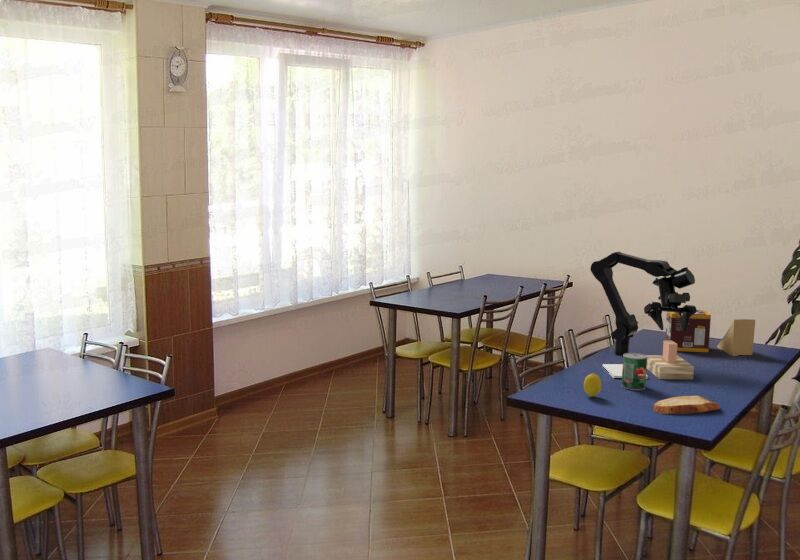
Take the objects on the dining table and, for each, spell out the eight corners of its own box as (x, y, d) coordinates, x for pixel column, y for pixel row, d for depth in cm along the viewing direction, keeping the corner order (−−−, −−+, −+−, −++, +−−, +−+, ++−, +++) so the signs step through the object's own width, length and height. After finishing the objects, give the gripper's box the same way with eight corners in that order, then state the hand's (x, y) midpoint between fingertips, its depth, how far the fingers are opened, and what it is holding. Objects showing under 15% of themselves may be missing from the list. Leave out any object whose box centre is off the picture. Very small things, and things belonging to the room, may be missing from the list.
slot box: (645, 367, 292) (645, 355, 291) (677, 367, 292) (678, 355, 291) (659, 379, 276) (659, 366, 275) (693, 379, 276) (693, 366, 275)
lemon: (581, 394, 257) (582, 370, 256) (598, 394, 257) (599, 371, 256) (585, 399, 252) (586, 375, 250) (602, 399, 251) (603, 375, 250)
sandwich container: (736, 347, 325) (739, 311, 323) (753, 356, 310) (756, 319, 308) (715, 347, 325) (718, 311, 323) (731, 356, 310) (734, 319, 308)
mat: (602, 366, 292) (602, 364, 292) (634, 367, 292) (634, 364, 292) (613, 378, 276) (613, 375, 276) (647, 378, 276) (647, 376, 276)
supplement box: (664, 345, 327) (666, 308, 325) (702, 346, 325) (705, 309, 323) (669, 351, 317) (671, 313, 315) (708, 352, 315) (711, 314, 313)
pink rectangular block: (662, 365, 286) (663, 340, 285) (670, 365, 286) (671, 340, 285) (667, 369, 281) (669, 344, 279) (675, 369, 281) (677, 344, 279)
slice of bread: (649, 412, 240) (650, 401, 239) (663, 398, 255) (664, 386, 254) (711, 423, 231) (712, 411, 230) (722, 407, 246) (722, 396, 245)
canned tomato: (644, 391, 261) (646, 359, 259) (620, 388, 264) (622, 357, 262) (646, 385, 268) (647, 353, 267) (622, 382, 271) (624, 351, 269)
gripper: (655, 281, 286) (661, 320, 280) (701, 285, 290) (708, 324, 283) (640, 293, 296) (646, 332, 289) (685, 297, 300) (692, 335, 293)
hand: (673, 330), depth 288 cm, fingers open, 9 cm apart
